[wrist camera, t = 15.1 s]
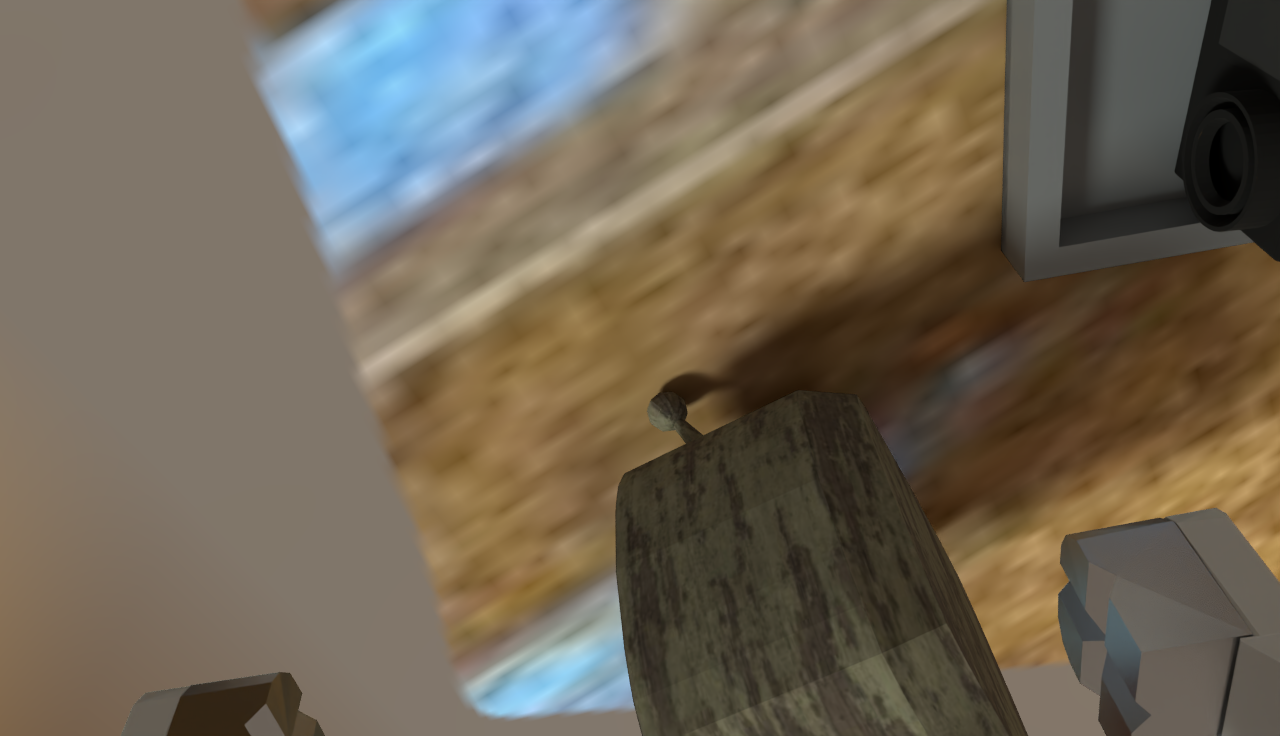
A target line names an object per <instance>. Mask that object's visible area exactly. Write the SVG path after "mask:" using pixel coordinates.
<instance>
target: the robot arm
mask: <svg viewBox="0 0 1280 736" xmlns="http://www.w3.org/2000/svg"><path fill="white" fill-rule="evenodd" d="M1060 564H1061V566H1062V567H1063V569H1064V571H1065V573H1066V575H1067V577H1068V579H1069V582H1068V583H1067V585H1066V586H1065V587H1064V588H1063V589H1062V590H1061V591H1060V593H1059V594H1058V619H1059V624H1060V629H1061V635H1062V640H1063V644H1064V647H1065V650H1066V653H1067V655H1068V658H1069V661H1070V664H1071V666H1072V668H1073V670H1074V672H1075V674H1076V676H1077V678H1078V680H1079V682H1080V684H1082V685H1083V686H1085V687H1086V688H1088V689H1089V690H1091V691H1093V692H1094V693H1096V694H1097V695H1099V696H1100V704H1099V717H1098V720H1099V722H1100V724H1101V726H1102V728H1103V730H1104V732H1105V734H1106V736H1280V582H1279V581H1278V579H1277V578H1276V577H1275V576H1274V574H1273V573H1272V572H1271V570H1270V569H1269V568H1268V567H1267V565H1266V564H1265V563H1264V561H1263V560H1262V559H1261V558H1260V556H1259V555H1258V554H1257V552H1256V551H1255V550H1254V549H1253V547H1252V546H1251V545H1250V543H1249V542H1248V541H1247V540H1246V538H1245V537H1244V536H1243V534H1242V533H1241V532H1240V531H1239V529H1238V528H1237V527H1236V525H1235V524H1234V523H1233V522H1232V520H1231V519H1230V518H1229V516H1228V515H1227V514H1226V513H1224V512H1222V511H1221V510H1219V509H1217V508H1212V509H1207V510H1201V511H1195V512H1190V513H1184V514H1179V515H1173V516H1168V517H1165V518H1164V519H1163V518H1156V519H1150V520H1145V521H1139V522H1134V523H1129V524H1123V525H1118V526H1112V527H1107V528H1101V529H1096V530H1091V531H1085V532H1080V533H1074V534H1069V535H1066V536H1065V538H1064V540H1063V542H1062V544H1061V557H1060ZM301 696H302V692H301V690H300V689H299V687H298V685H297V684H296V682H295V680H294V679H293V677H292V675H291V674H290V673H283V672H278V673H271V674H264V675H257V676H250V677H244V678H237V679H230V680H223V681H217V682H211V683H203V684H196V685H191V686H188V687H181V688H174V689H168V690H161V691H154V692H148V693H145V694H144V695H143V696H142V697H141V698H140V699H139V700H138V701H137V702H136V703H135V704H134V706H133V707H132V710H131V712H130V715H129V717H128V720H127V722H126V725H125V727H124V729H123V732H122V734H121V736H325V735H324V733H323V731H322V729H321V727H320V725H319V724H318V722H317V720H315V719H313V718H311V717H310V716H308V715H306V714H304V713H302V712H300V711H298V709H299V705H300V700H301Z"/></svg>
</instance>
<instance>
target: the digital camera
mask: <svg viewBox="0 0 1280 736" xmlns="http://www.w3.org/2000/svg"><path fill="white" fill-rule="evenodd" d="M1174 172H1175V174H1176V175H1177V176H1178V177H1180V178H1181V179H1182V180H1183V183H1184V188H1185V193H1186V197H1187V199H1188V202H1189V205H1190V207H1191V209H1192V211H1193V213H1194V215H1195V216H1196V218H1197V219H1198V220H1199V222H1200V223H1201V224H1202V225H1204V226H1205V227H1206V228H1208V229H1210V230H1212V231H1215V232H1225V231H1234V230H1241V231H1242V232H1243V233H1244V234H1245V235H1246V236H1248V237H1249V238H1250V239H1251V240H1252V241H1253V242H1255V243H1256V244H1257V245H1258V246H1259V247H1260V248H1261V249H1263V250H1264V251H1265V252H1266V253H1267V254H1268V255H1270V256H1271V257H1272V258H1273V259H1274V260H1276V261H1279V262H1280V0H1211V4H1210V9H1209V14H1208V18H1207V23H1206V27H1205V32H1204V37H1203V41H1202V46H1201V50H1200V55H1199V60H1198V64H1197V69H1196V73H1195V78H1194V83H1193V87H1192V92H1191V97H1190V101H1189V106H1188V110H1187V115H1186V120H1185V124H1184V129H1183V134H1182V138H1181V143H1180V148H1179V152H1178V157H1177V161H1176V166H1175V171H1174Z"/></svg>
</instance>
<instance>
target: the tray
mask: <svg viewBox="0 0 1280 736" xmlns="http://www.w3.org/2000/svg"><path fill="white" fill-rule="evenodd" d="M1210 4H1211V0H1007V22H1006V65H1005V108H1004V151H1003V194H1002V237H1001V251H1002V252H1003V253H1004V255H1005V256H1006V258H1007V259H1008V260H1009V262H1010V263H1011V264H1012V266H1013V267H1014V269H1015V270H1016V271H1017V273H1018V274H1019V275H1020V277H1021V278H1022V280H1023V281H1024V282H1028V281H1034V280H1039V279H1045V278H1051V277H1057V276H1062V275H1068V274H1074V273H1080V272H1085V271H1091V270H1097V269H1103V268H1108V267H1114V266H1120V265H1126V264H1131V263H1137V262H1143V261H1149V260H1154V259H1160V258H1166V257H1172V256H1177V255H1183V254H1189V253H1195V252H1200V251H1206V250H1212V249H1218V248H1223V247H1229V246H1235V245H1241V244H1247V243H1252V242H1253V241H1252V240H1251V239H1250V238H1249V237H1248V236H1246V235H1245V234H1244V233H1243V232H1242V231H1241V230H1234V231H1225V232H1215V231H1212V230H1210V229H1208V228H1206V227H1205V226H1204V225H1202V224H1201V223H1200V222H1199V220H1198V219H1197V218H1196V216H1195V215H1194V213H1193V211H1192V209H1191V207H1190V205H1189V202H1188V199H1187V197H1186V193H1185V188H1184V183H1183V180H1182V179H1181V178H1180V177H1178V176H1177V175H1176V174H1175V172H1174V171H1175V166H1176V161H1177V157H1178V152H1179V148H1180V143H1181V138H1182V134H1183V129H1184V124H1185V120H1186V115H1187V110H1188V106H1189V101H1190V97H1191V92H1192V87H1193V83H1194V78H1195V73H1196V69H1197V64H1198V60H1199V55H1200V50H1201V46H1202V41H1203V37H1204V32H1205V27H1206V23H1207V18H1208V14H1209V9H1210Z"/></svg>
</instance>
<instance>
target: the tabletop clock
mask: <svg viewBox="0 0 1280 736" xmlns="http://www.w3.org/2000/svg"><path fill="white" fill-rule="evenodd" d="M647 412H648V416H649V420H650V422H651V424H652V425H654V426H655V427H657V428H658V429H660V430H662V431H671V430H676V431H677V432H678V434H679V435H680V436H681V438H682V439H683V440H684V442H685V443H686V444H685V445H683V446H681V447H679V448H677V449H674V450H672V451H670V452H668V453H666V454H664V455H662V456H660V457H658V458H656V459H654V460H652V461H649V462H647V463H645V464H643V465H641V466H639V467H637V468H635V469H633V470H631V471H629V472H627V473H625V474H624V475H623V477H622V479H621V482H620V484H619V486H618V492H617V500H616V575H617V585H618V594H619V603H620V613H621V622H622V631H623V640H624V649H625V656H626V662H627V668H628V674H629V680H630V686H631V691H632V697H633V702H634V706H635V710H636V714H637V718H638V721H639V725H640V729H641V733H642V736H1028V735H1027V732H1026V730H1025V727H1024V725H1023V723H1022V720H1021V718H1020V716H1019V713H1018V711H1017V708H1016V706H1015V704H1014V701H1013V699H1012V697H1011V694H1010V692H1009V690H1008V688H1007V685H1006V683H1005V681H1004V678H1003V676H1002V674H1001V671H1000V669H999V667H998V664H997V662H996V660H995V657H994V655H993V653H992V651H991V648H990V646H989V644H988V641H987V639H986V637H985V634H984V632H983V630H982V628H981V625H980V623H979V621H978V619H977V616H976V614H975V612H974V610H973V607H972V605H971V603H970V601H969V599H968V596H967V594H966V592H965V590H964V588H963V586H962V583H961V581H960V579H959V577H958V575H957V573H956V571H955V569H954V567H953V565H952V563H951V561H950V559H949V557H948V556H947V554H946V552H945V550H944V548H943V546H942V544H941V542H940V541H939V539H938V537H937V535H936V533H935V531H934V530H933V528H932V526H931V524H930V522H929V521H928V519H927V517H926V515H925V513H924V511H923V510H922V508H921V506H920V504H919V502H918V501H917V499H916V497H915V495H914V493H913V491H912V490H911V488H910V486H909V484H908V482H907V481H906V479H905V477H904V475H903V473H902V472H901V470H900V468H899V466H898V465H897V463H896V461H895V459H894V458H893V456H892V454H891V452H890V450H889V449H888V447H887V445H886V443H885V442H884V440H883V438H882V436H881V435H880V433H879V431H878V429H877V428H876V426H875V424H874V422H873V421H872V419H871V417H870V415H869V414H868V412H867V410H866V409H865V407H864V405H863V404H862V402H861V401H860V399H859V398H858V396H857V395H853V394H840V393H828V392H815V391H803V390H797V391H795V392H793V393H791V394H789V395H787V396H785V397H783V398H781V399H779V400H776V401H774V402H772V403H770V404H768V405H766V406H764V407H762V408H760V409H758V410H756V411H754V412H751V413H749V414H747V415H745V416H743V417H741V418H739V419H737V420H735V421H733V422H731V423H729V424H726V425H724V426H722V427H720V428H718V429H716V430H714V431H712V432H710V433H708V434H706V435H704V436H703V435H702V434H701V433H700V432H698V431H697V430H696V429H695V428H694V427H692V426H691V425H690V424H689V423H688V422H686V421H685V419H686V417H687V408H686V404H685V401H684V400H683V399H682V398H681V397H680V396H678V395H677V394H675V393H673V392H664V393H659V394H657V395H656V396H655V397H654V398H652V399H651V401H650V404H649V406H648V409H647Z"/></svg>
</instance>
